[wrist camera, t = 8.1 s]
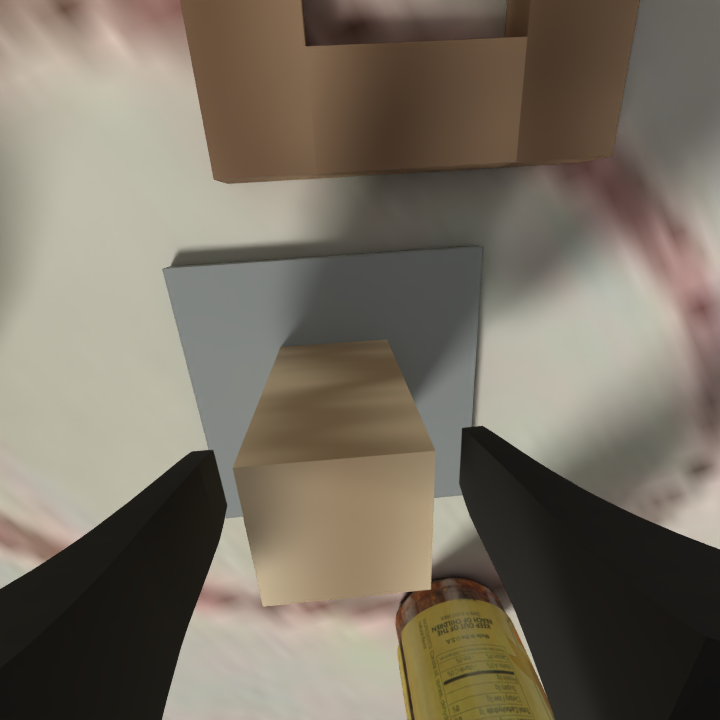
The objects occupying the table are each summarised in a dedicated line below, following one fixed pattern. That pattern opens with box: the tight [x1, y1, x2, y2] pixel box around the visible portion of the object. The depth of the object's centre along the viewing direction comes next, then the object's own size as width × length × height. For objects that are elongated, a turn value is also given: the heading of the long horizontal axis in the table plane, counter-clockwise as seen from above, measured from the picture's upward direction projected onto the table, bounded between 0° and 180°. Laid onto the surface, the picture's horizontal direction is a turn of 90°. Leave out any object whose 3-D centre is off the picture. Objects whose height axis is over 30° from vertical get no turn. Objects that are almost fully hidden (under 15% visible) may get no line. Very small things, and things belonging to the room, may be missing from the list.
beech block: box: [233, 340, 436, 606], centre depth 11 cm, size 4×4×7 cm
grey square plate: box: [162, 246, 483, 518], centre depth 15 cm, size 11×11×1 cm
